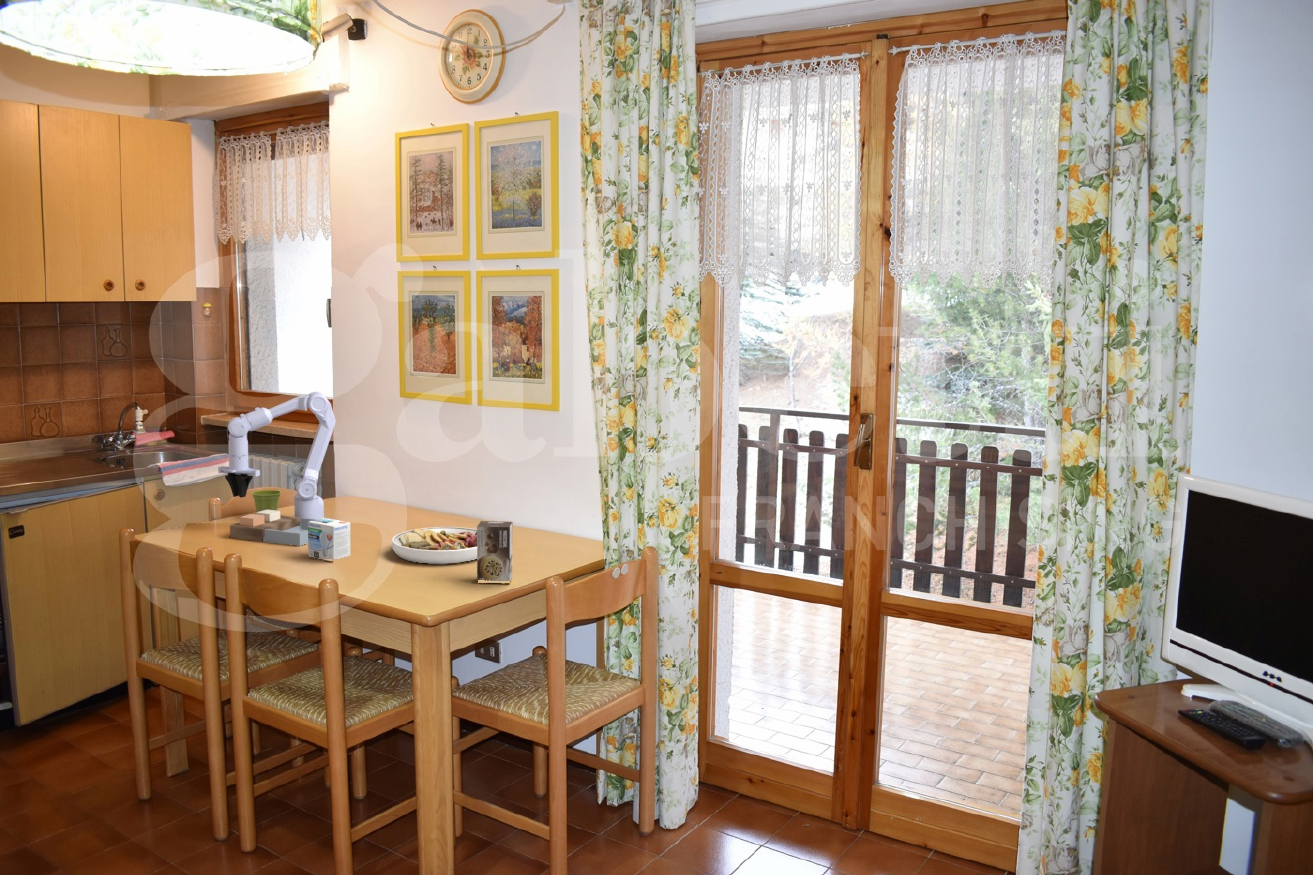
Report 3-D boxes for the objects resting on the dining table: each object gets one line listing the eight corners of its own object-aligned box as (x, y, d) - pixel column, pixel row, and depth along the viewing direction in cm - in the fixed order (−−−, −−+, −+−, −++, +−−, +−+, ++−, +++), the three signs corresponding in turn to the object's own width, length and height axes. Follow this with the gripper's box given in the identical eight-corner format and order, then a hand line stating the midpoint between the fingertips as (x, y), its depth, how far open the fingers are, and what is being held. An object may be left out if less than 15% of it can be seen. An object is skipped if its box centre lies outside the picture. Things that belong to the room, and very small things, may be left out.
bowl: (391, 569, 267) (391, 542, 266) (391, 543, 295) (391, 518, 294) (498, 565, 275) (498, 539, 274) (488, 540, 303) (489, 516, 302)
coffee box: (512, 578, 262) (513, 521, 259) (509, 584, 255) (510, 526, 253) (479, 577, 261) (480, 520, 259) (476, 584, 255) (476, 525, 253)
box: (301, 529, 307) (301, 517, 307) (336, 533, 303) (336, 521, 303) (263, 541, 290) (263, 529, 289) (299, 546, 286) (299, 533, 286)
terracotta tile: (251, 521, 298) (250, 513, 298) (264, 523, 297) (264, 515, 297) (239, 525, 294) (239, 517, 293) (253, 526, 292) (253, 518, 292)
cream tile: (267, 517, 306) (267, 509, 305) (280, 518, 304) (280, 510, 304) (256, 520, 301) (256, 512, 300) (269, 521, 299) (269, 514, 299)
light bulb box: (307, 557, 275) (306, 521, 273) (325, 552, 281) (324, 517, 279) (334, 563, 270) (333, 526, 268) (351, 558, 276) (351, 522, 274)
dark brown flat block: (269, 525, 311) (269, 513, 310) (300, 529, 307) (300, 517, 307) (230, 537, 293) (229, 525, 293) (262, 541, 290) (262, 529, 290)
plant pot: (253, 514, 326) (253, 489, 324) (282, 513, 328) (282, 489, 327) (250, 520, 317) (250, 495, 316) (280, 519, 320) (280, 494, 318)
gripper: (210, 454, 301) (211, 496, 303) (248, 458, 297) (249, 500, 299) (226, 451, 308) (227, 492, 310) (264, 455, 304) (264, 496, 306)
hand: (239, 496), depth 305 cm, fingers closed
